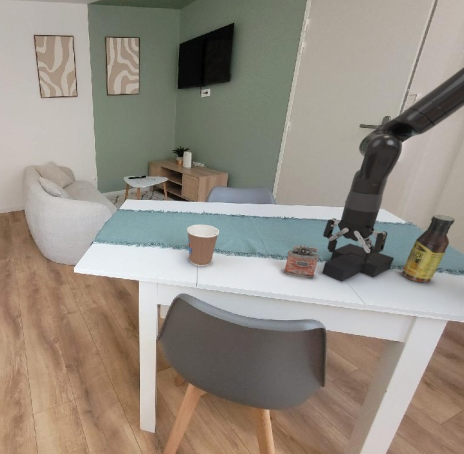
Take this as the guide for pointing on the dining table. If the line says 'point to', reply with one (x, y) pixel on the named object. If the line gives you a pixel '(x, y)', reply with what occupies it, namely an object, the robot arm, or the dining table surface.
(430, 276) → the sauce bottle
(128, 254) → the dining table surface
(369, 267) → the notch pad
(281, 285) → the dining table surface
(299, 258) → the lighter
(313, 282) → the dining table surface
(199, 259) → the coffee cup
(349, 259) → the pad
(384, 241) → the robot arm
